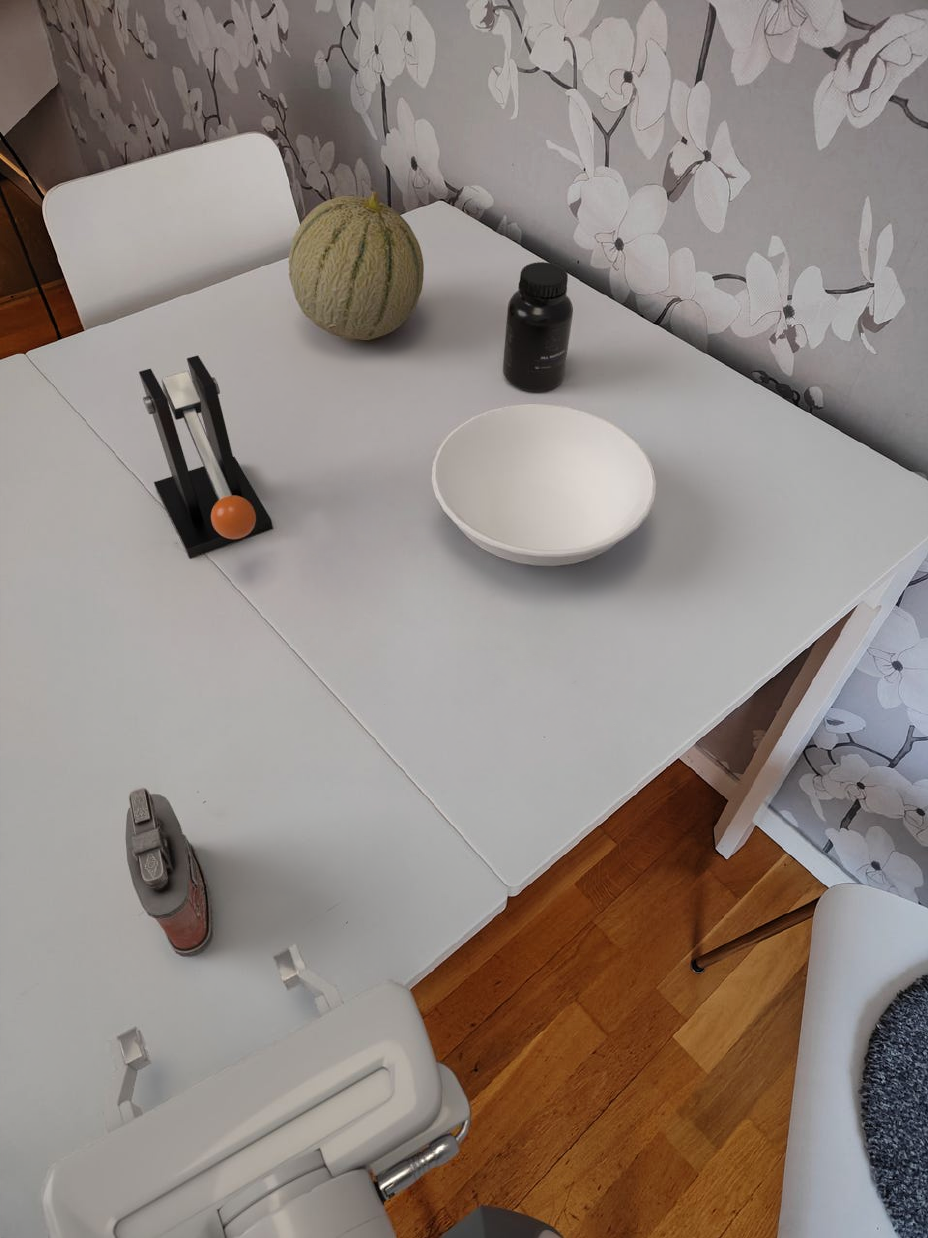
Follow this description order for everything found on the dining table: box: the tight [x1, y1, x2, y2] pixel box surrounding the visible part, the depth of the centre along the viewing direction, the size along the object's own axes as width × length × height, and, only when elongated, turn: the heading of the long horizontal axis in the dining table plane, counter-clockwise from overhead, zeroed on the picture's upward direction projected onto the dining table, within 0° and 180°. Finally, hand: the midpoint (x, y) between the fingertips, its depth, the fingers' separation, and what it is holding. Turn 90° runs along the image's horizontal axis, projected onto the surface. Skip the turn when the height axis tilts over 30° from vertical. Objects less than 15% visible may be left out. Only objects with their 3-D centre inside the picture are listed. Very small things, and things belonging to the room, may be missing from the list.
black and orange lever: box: [138, 354, 274, 559], centre depth 76 cm, size 10×8×15 cm
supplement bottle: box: [502, 261, 574, 393], centre depth 92 cm, size 7×7×12 cm
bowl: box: [431, 403, 657, 567], centre depth 79 cm, size 20×20×6 cm
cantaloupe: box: [288, 190, 425, 341], centre depth 95 cm, size 15×15×15 cm
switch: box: [161, 370, 256, 539], centre depth 72 cm, size 14×4×4 cm
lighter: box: [125, 787, 214, 958], centre depth 55 cm, size 8×3×10 cm, turn 22°
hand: (207, 992), depth 50 cm, fingers open, 8 cm apart
